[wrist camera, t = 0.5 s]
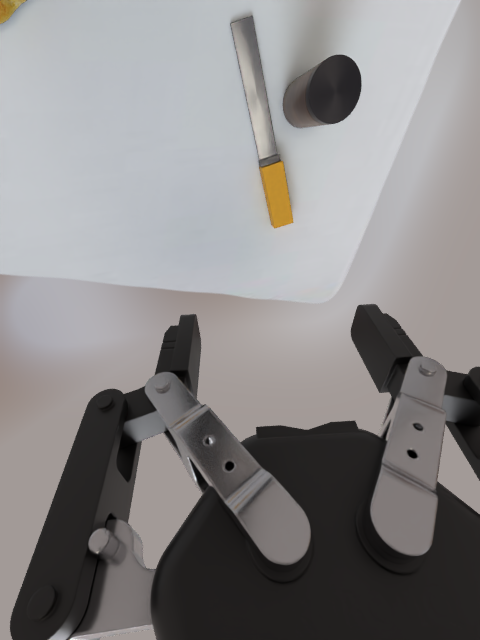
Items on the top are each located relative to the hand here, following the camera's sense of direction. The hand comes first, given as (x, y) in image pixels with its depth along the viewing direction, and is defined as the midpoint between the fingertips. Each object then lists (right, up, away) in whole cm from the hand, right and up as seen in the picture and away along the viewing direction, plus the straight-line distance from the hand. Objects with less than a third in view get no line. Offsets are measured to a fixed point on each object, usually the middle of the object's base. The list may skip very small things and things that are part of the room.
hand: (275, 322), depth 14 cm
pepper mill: (+5, +24, +17) cm, 30 cm away
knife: (+1, +21, +19) cm, 28 cm away
